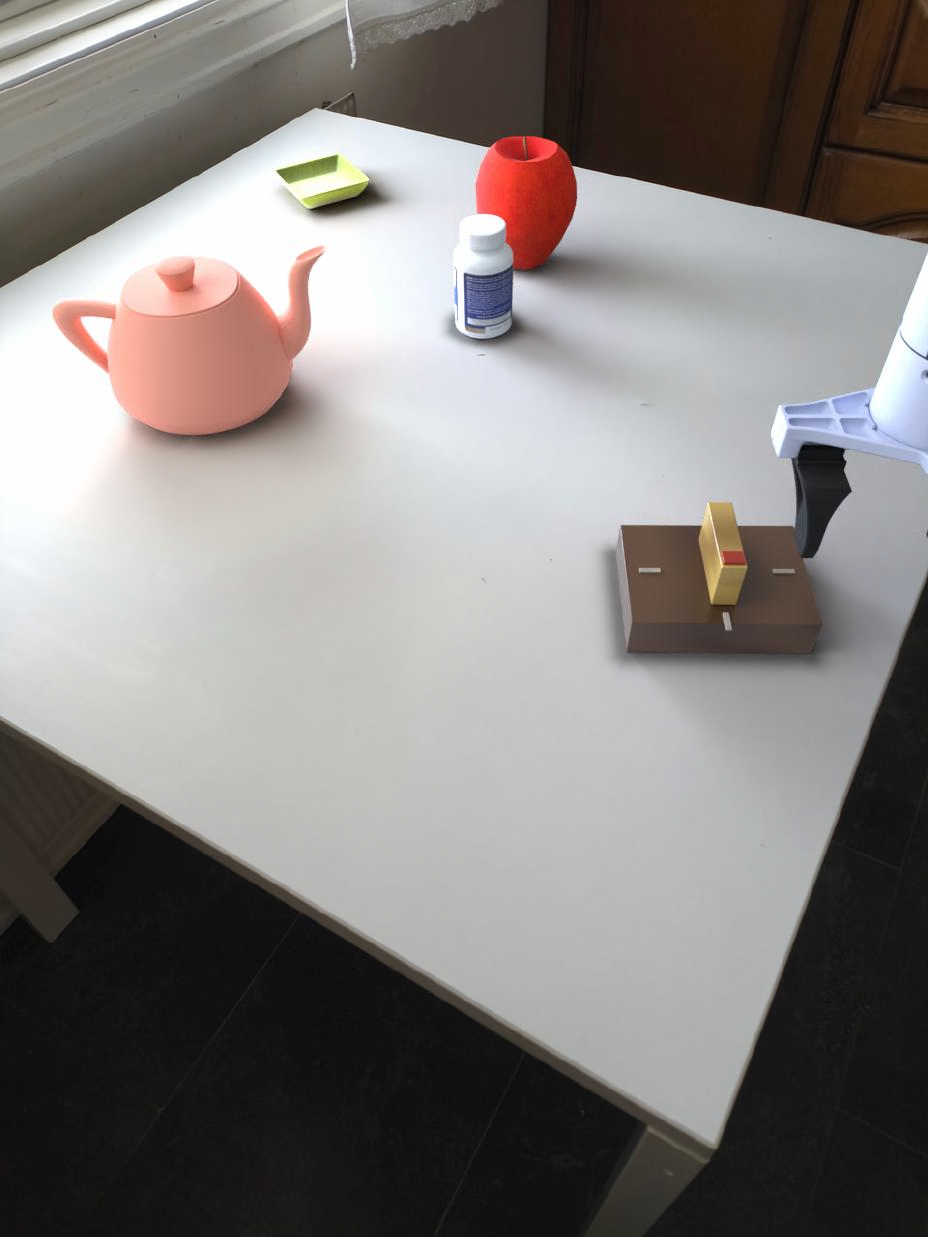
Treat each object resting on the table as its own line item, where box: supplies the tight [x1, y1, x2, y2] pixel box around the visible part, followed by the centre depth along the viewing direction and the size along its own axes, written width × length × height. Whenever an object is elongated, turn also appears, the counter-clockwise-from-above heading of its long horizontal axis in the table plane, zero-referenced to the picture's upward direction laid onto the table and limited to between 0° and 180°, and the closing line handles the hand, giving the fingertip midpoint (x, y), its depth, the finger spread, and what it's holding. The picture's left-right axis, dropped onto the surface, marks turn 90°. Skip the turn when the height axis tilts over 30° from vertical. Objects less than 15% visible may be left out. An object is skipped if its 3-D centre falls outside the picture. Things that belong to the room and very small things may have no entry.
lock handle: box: [699, 501, 748, 605], centre depth 58 cm, size 6×2×4 cm, turn 178°
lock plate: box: [615, 517, 824, 655], centre depth 61 cm, size 12×10×3 cm
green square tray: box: [272, 153, 371, 210], centre depth 104 cm, size 9×9×2 cm
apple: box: [474, 135, 578, 271], centre depth 88 cm, size 10×10×12 cm
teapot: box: [52, 245, 327, 436], centre depth 74 cm, size 22×15×12 cm
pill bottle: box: [452, 214, 514, 340], centre depth 82 cm, size 5×5×10 cm
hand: (869, 546), depth 52 cm, fingers open, 7 cm apart
